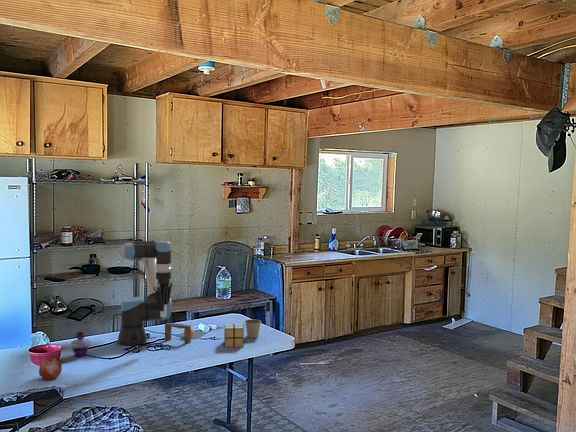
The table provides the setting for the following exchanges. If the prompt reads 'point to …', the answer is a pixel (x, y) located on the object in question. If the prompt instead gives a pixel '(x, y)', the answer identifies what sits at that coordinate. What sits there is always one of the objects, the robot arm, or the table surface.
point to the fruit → (50, 368)
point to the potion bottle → (80, 344)
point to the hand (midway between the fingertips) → (163, 316)
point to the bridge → (186, 327)
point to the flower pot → (252, 327)
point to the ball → (191, 332)
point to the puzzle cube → (234, 335)
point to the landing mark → (195, 335)
